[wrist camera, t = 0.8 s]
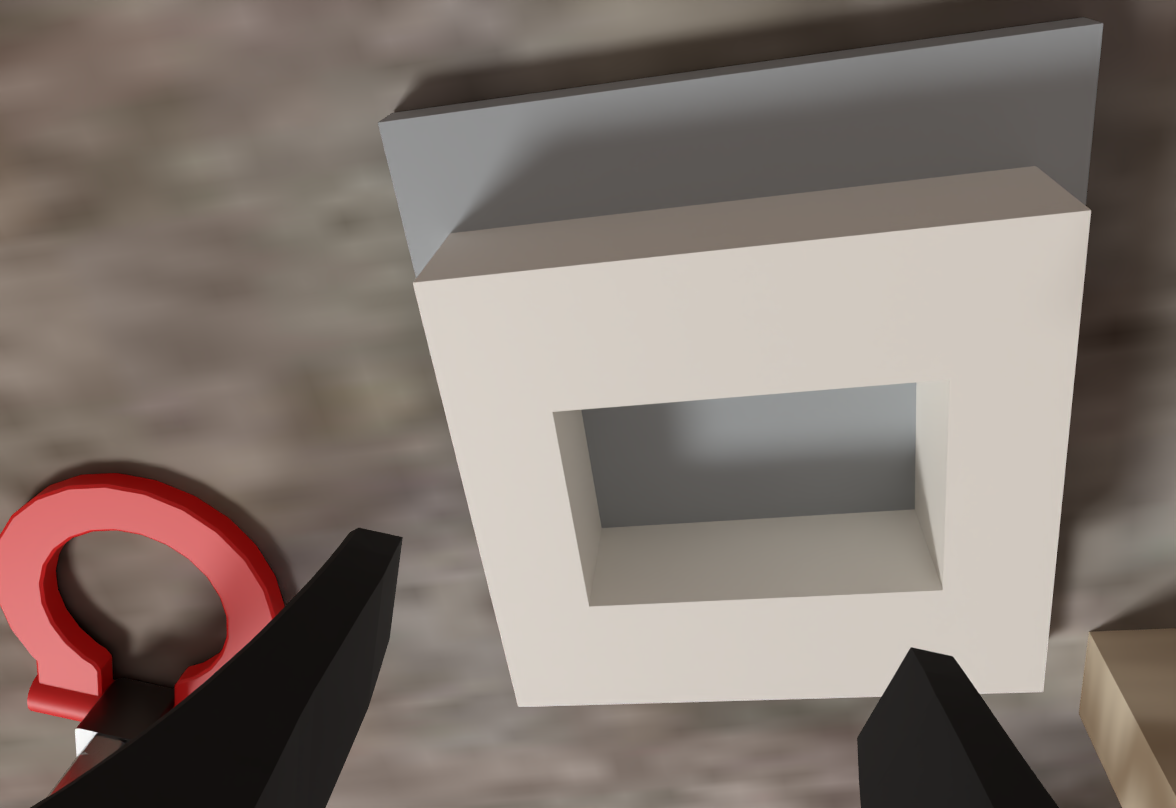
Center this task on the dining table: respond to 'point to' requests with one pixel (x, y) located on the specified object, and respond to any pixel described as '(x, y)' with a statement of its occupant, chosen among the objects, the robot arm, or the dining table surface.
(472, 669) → the dining table surface
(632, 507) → the slotted block
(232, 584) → the tow hook
